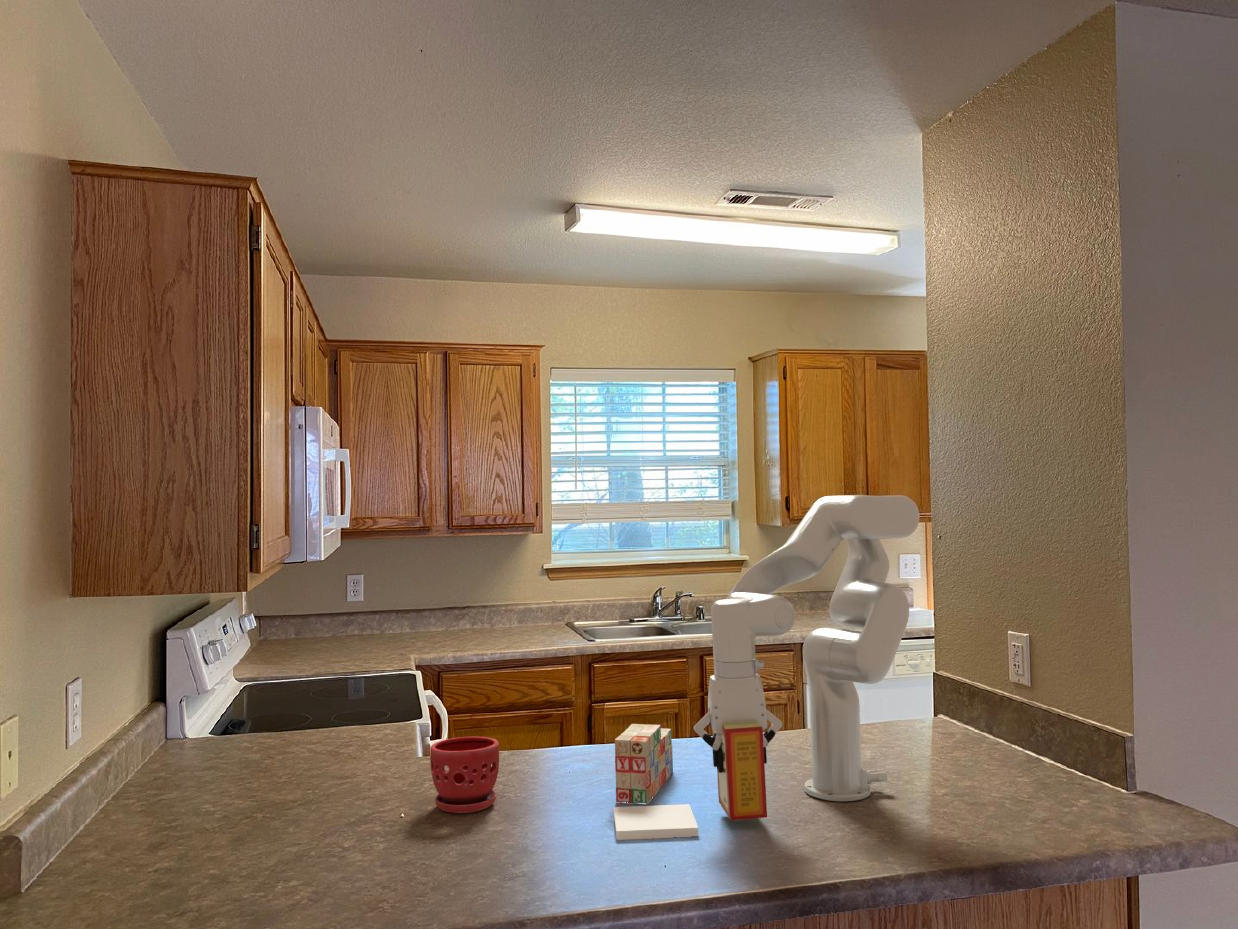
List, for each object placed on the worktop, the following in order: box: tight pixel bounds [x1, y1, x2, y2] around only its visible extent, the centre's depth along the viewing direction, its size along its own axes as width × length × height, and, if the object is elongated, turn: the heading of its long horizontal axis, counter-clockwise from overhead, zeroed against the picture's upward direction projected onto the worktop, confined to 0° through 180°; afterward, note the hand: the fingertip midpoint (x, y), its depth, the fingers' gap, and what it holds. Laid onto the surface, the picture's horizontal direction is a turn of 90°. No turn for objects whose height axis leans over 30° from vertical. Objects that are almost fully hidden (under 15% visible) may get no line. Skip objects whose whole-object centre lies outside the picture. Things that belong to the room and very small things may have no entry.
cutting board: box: [612, 803, 699, 841], centre depth 159 cm, size 14×12×2 cm
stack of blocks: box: [614, 723, 674, 805], centre depth 181 cm, size 21×6×12 cm, turn 163°
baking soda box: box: [716, 723, 768, 821], centre depth 161 cm, size 10×6×16 cm
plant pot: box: [429, 736, 500, 814], centre depth 172 cm, size 13×13×12 cm
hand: (740, 768), depth 160 cm, fingers closed on baking soda box, 6 cm apart
